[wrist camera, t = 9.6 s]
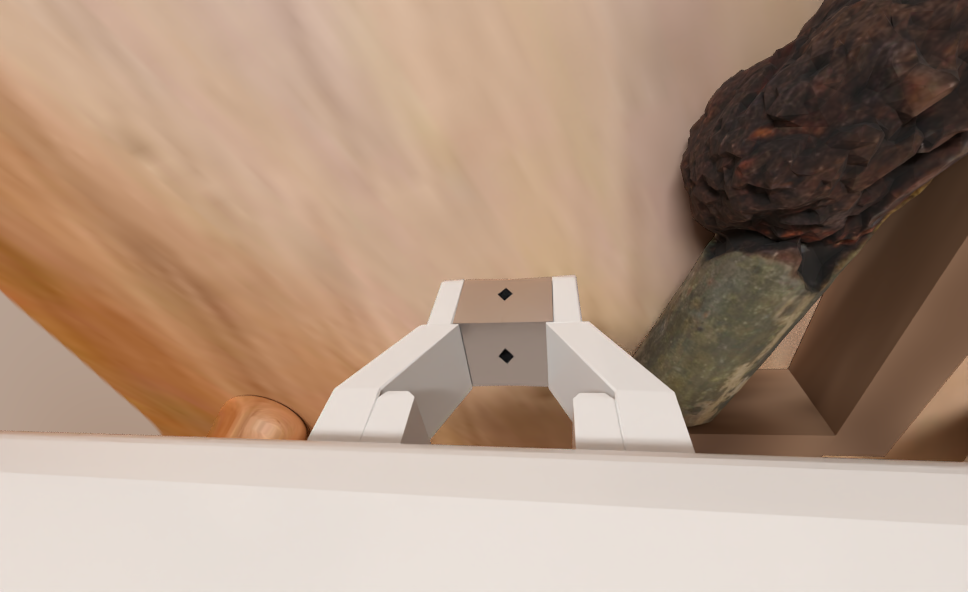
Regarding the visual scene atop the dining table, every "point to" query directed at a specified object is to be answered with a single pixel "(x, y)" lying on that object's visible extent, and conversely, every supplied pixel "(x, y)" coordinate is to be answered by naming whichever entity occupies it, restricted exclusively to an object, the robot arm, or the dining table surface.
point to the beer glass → (257, 420)
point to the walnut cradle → (866, 342)
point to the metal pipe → (806, 180)
